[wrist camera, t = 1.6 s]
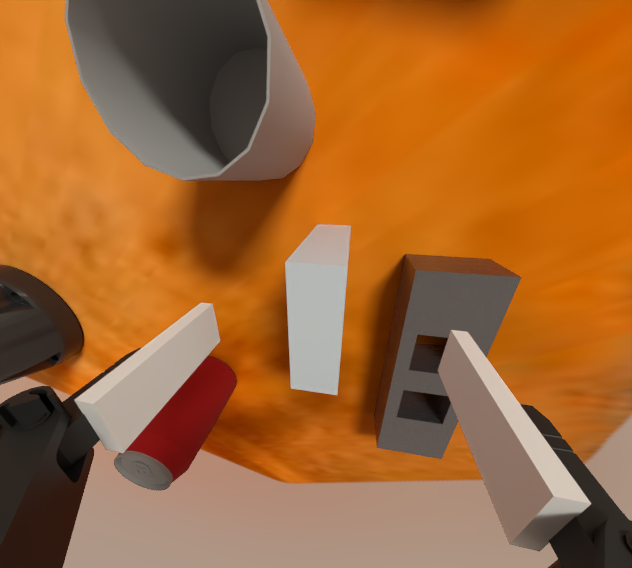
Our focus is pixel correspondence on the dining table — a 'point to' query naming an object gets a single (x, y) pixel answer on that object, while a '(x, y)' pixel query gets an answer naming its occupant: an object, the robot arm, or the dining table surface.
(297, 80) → the cup
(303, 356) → the upright white panel
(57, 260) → the dining table surface
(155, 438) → the beverage can
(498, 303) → the block with rectangular holes
